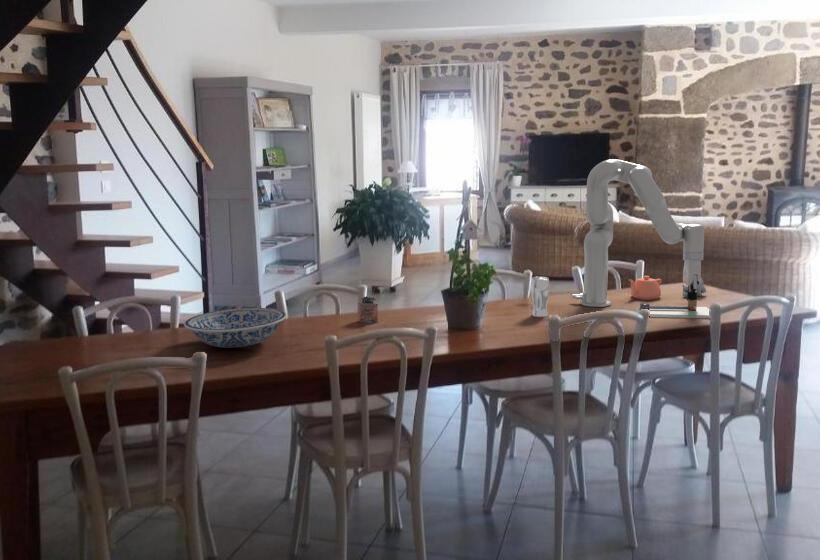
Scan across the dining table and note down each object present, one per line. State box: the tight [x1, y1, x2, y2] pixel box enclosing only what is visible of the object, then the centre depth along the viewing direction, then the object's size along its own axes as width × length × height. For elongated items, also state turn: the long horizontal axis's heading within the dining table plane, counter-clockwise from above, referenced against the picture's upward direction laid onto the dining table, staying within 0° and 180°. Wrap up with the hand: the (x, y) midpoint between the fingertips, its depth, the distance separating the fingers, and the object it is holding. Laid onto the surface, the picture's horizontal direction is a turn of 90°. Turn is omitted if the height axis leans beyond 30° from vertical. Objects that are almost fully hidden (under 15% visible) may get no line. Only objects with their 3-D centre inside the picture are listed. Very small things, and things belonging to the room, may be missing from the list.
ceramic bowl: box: [183, 307, 287, 349], centre depth 259 cm, size 34×34×10 cm
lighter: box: [358, 295, 379, 324], centre depth 290 cm, size 8×3×10 cm, turn 62°
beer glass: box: [530, 276, 550, 318], centre depth 295 cm, size 7×7×15 cm
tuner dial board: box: [638, 305, 710, 319], centre depth 296 cm, size 26×17×1 cm, turn 81°
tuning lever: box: [639, 299, 698, 311], centre depth 297 cm, size 21×4×4 cm, turn 82°
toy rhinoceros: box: [682, 278, 707, 299], centre depth 328 cm, size 7×12×8 cm, turn 119°
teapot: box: [628, 275, 662, 301], centre depth 327 cm, size 12×18×10 cm
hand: (691, 301), depth 299 cm, fingers closed
